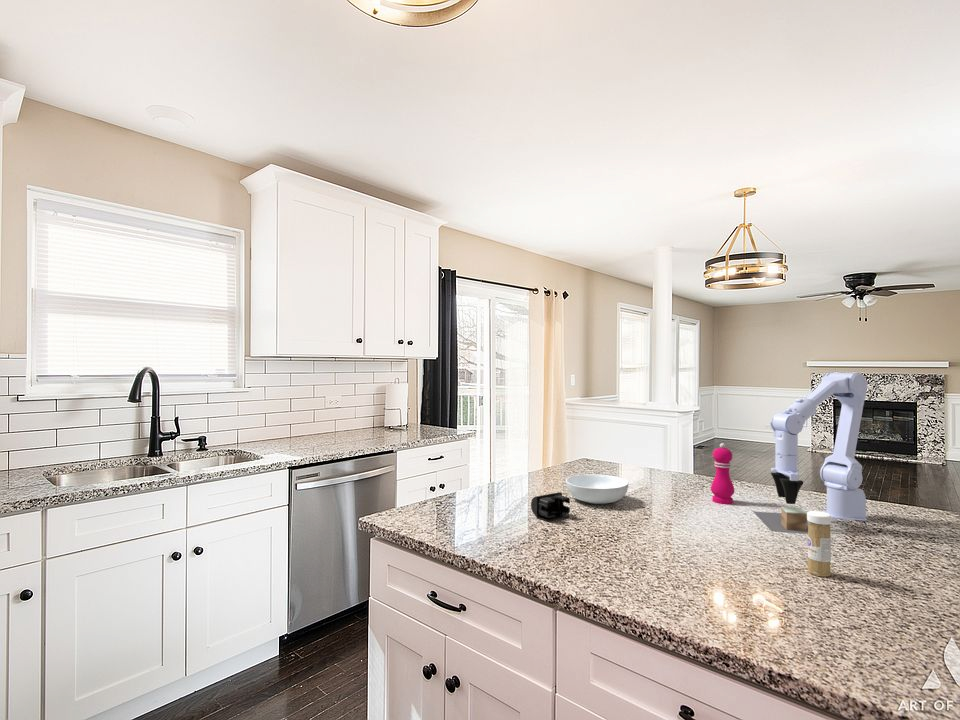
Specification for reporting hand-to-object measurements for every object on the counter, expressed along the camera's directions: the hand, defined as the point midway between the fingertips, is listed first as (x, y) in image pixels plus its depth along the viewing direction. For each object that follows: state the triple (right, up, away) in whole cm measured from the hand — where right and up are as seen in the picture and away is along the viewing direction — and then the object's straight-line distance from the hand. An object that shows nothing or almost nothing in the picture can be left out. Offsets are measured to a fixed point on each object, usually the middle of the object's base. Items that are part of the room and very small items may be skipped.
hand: (786, 500), depth 155 cm
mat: (0, -6, -1) cm, 7 cm away
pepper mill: (-9, -7, +22) cm, 24 cm away
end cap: (-69, -7, +5) cm, 69 cm away
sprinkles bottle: (-15, -6, -38) cm, 41 cm away
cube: (-2, -1, -6) cm, 7 cm away
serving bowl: (-51, -7, +24) cm, 56 cm away
